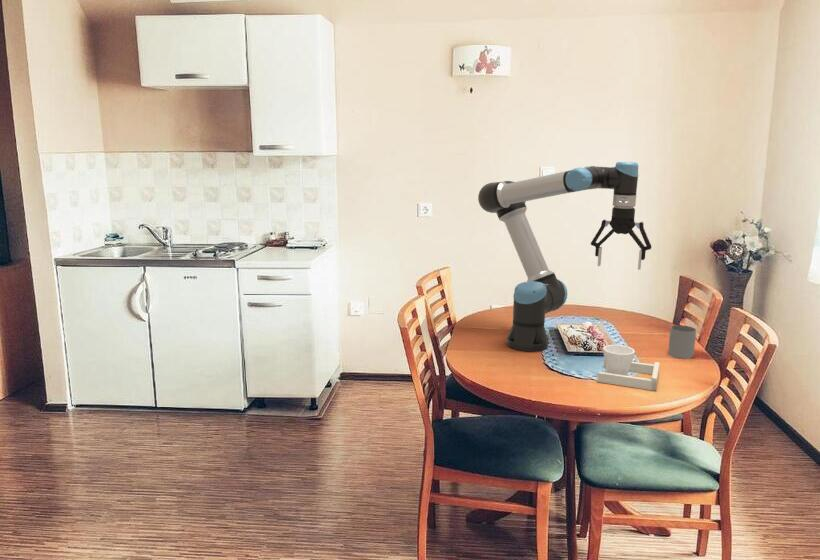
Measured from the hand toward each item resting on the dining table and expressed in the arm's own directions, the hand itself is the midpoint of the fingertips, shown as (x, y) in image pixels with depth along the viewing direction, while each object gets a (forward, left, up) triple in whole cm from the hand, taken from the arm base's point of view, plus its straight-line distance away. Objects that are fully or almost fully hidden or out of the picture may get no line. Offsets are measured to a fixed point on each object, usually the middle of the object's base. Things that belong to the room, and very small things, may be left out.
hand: (618, 267), depth 227 cm
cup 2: (+23, +8, -32) cm, 40 cm away
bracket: (+8, -24, -32) cm, 41 cm away
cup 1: (+4, -24, -32) cm, 40 cm away
